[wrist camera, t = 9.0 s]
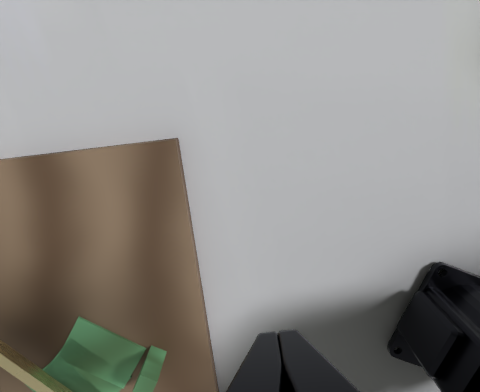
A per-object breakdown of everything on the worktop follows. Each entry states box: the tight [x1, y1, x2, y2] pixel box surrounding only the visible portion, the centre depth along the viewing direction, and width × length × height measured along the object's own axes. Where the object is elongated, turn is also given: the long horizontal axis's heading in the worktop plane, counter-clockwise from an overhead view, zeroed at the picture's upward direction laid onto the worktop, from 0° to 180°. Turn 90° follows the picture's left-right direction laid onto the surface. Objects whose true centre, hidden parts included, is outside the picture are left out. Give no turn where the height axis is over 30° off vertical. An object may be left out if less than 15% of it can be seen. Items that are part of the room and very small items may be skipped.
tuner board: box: [0, 138, 219, 392], centre depth 21 cm, size 17×19×3 cm
